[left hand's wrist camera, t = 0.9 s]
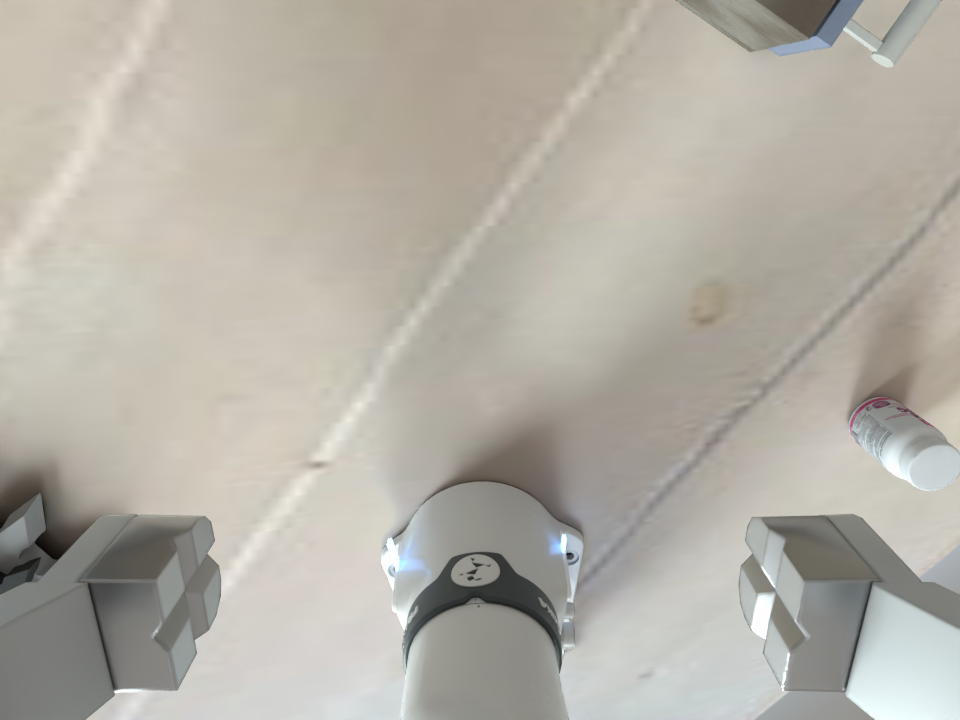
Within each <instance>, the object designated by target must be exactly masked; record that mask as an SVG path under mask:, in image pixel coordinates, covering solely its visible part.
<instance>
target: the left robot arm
mask: <svg viewBox="0 0 960 720" xmlns="http://www.w3.org/2000/svg"><path fill="white" fill-rule="evenodd" d="M214 541H215V538H214V533H213V529H212V524H211V521H210V520H209V519H208V518H207V517H206V516H181V515H136V514H122V515H105V516H101V517H99V518H98V519H97V520H96V521H95V522H94V523H93V524H92V525H91V526H90V527H89V528H88V529H87V530H86V531H85V532H84V533H83V535H82V536H81V537H80V538H79V539H78V540H77V541H76V542H75V543H74V544H73V545H72V546H71V547H70V548H69V549H68V550H67V551H66V552H65V554H64V555H63V556H62V557H61V558H60V559H59V560H58V561H57V562H56V563H55V564H54V565H53V566H52V567H51V568H50V569H49V570H48V572H47V573H46V574H45V575H44V576H43V577H42V578H41V579H40V580H39V581H38V582H26V583H24V584H22V585H20V586H17V587H15V588H13V589H11V590H9V591H7V592H5V593H3V594H1V595H0V720H85V719H87V718H88V717H89V716H90V715H92V714H93V713H94V712H95V711H96V710H98V709H99V708H100V707H101V706H103V705H104V704H105V703H106V702H107V701H109V700H110V699H111V698H112V697H114V695H115V693H114V692H138V691H173V690H178V688H179V686H180V684H181V683H182V681H183V679H184V677H185V675H186V673H187V671H188V669H189V667H190V665H191V664H192V662H193V660H194V658H195V656H196V654H197V651H196V645H195V639H197V638H198V637H200V636H201V635H203V634H204V633H205V632H207V631H208V630H209V629H210V627H211V625H212V623H213V621H214V619H215V617H216V614H217V610H218V606H219V601H220V597H221V576H220V569H219V565H218V564H217V563H216V562H215V561H214V560H213V559H212V558H211V557H210V556H209V555H208V554H207V553H208V551H209V550H210V548H211V546H212V545H213V543H214ZM745 541H746V543H747V545H748V546H749V548H750V550H751V551H752V553H753V554H752V555H751V556H750V557H749V558H748V559H747V560H746V561H745V562H744V563H743V564H742V565H741V570H740V578H739V594H740V604H741V607H742V610H743V614H744V617H745V619H746V621H747V623H748V625H749V627H750V629H751V630H752V631H753V632H755V633H756V634H757V635H759V636H760V637H762V638H763V639H765V645H764V651H763V654H764V656H765V658H766V660H767V662H768V664H769V665H770V667H771V669H772V671H773V673H774V675H775V677H776V679H777V681H778V682H779V684H780V686H781V688H782V690H785V691H821V692H846V693H845V695H846V696H847V697H848V698H849V699H851V700H852V701H853V702H854V703H855V704H857V705H858V706H859V707H860V708H861V709H863V710H864V711H865V712H866V713H868V714H869V715H870V716H871V717H872V718H874V719H875V720H960V595H959V594H957V593H955V592H953V591H951V590H949V589H947V588H945V587H943V586H940V585H938V584H936V583H934V582H922V581H921V580H920V579H919V578H918V577H917V576H916V575H915V574H914V573H913V571H912V570H911V569H910V568H909V567H908V566H907V565H906V564H905V563H904V562H903V561H902V560H901V559H900V558H899V557H898V556H897V555H896V553H895V552H894V551H893V550H892V549H891V548H890V547H889V546H888V545H887V544H886V543H885V542H884V541H883V540H882V539H881V538H880V537H879V535H878V534H877V533H876V532H875V531H874V530H873V529H872V528H871V527H870V526H869V525H868V524H867V523H866V522H865V521H864V520H863V518H861V517H859V516H856V515H854V514H839V515H819V516H778V517H752V518H751V520H750V522H749V524H748V527H747V532H746V538H745ZM583 550H584V540H583V536H582V534H581V533H580V532H578V531H577V530H576V529H574V528H572V527H570V526H568V525H566V524H564V523H561V522H559V521H557V520H556V519H555V518H554V517H553V516H552V515H551V514H550V513H549V512H548V511H547V510H546V509H545V508H544V506H543V505H542V504H541V503H540V502H538V501H537V500H536V499H535V498H533V497H532V496H531V495H529V494H527V493H526V492H524V491H522V490H520V489H517V488H515V487H512V486H509V485H506V484H502V483H496V482H486V481H479V482H468V483H463V484H459V485H455V486H452V487H450V488H447V489H445V490H443V491H441V492H439V493H437V494H436V495H434V496H433V497H431V498H430V499H429V500H427V501H426V502H425V503H424V504H423V505H422V506H421V507H420V508H419V509H418V511H417V512H416V513H415V515H414V516H413V518H412V520H411V521H410V523H409V525H408V526H407V528H406V529H405V531H404V532H403V533H402V534H400V535H399V536H397V537H396V538H394V539H393V540H392V538H388V542H387V545H386V546H385V547H384V548H383V549H382V553H381V562H382V565H383V567H384V570H385V572H386V575H387V577H388V579H389V582H390V584H391V587H392V589H393V598H392V609H393V611H394V612H396V613H397V614H398V618H399V620H400V623H401V625H402V627H403V629H404V635H403V645H402V648H403V667H404V670H405V674H406V677H405V684H404V692H403V699H402V707H401V714H400V720H569V717H568V713H567V709H566V705H565V700H564V696H563V691H562V686H561V681H560V675H559V674H560V669H561V665H562V659H563V656H564V651H565V650H571V649H573V648H574V643H575V629H574V624H573V623H571V622H570V619H573V618H574V598H575V593H576V587H577V582H578V577H579V571H580V566H581V560H582V555H583ZM568 552H571V553H572V554H571V555H566V553H568Z"/></svg>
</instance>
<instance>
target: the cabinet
mask: <svg viewBox="0 0 960 720" xmlns="http://www.w3.org/2000/svg"><path fill="white" fill-rule="evenodd" d="M676 1H678V2H679V3H680V4H682V5H683V6H685V7H686V8H688V9H689V10H691V11H692V12H693V13H695V14H696V15H698V16H699V17H701V18H702V19H703V20H705V21H706V22H708V23H709V24H711V25H712V26H714V27H715V28H716V29H718V30H719V31H721V32H722V33H724V34H725V35H726V36H728V37H729V38H731V39H732V40H734V41H735V42H736V43H738V44H739V45H741V46H742V47H744V48H745V49H747V50H748V51H749V52H753V51H758V50H762V49H767V48H772V47H776V46H781V45H786V44H790V43H795V42H800V41H804V40H809V39H810V38H811V37H812V35H813V34H814V32H815V31H816V29H817V28H818V26H819V25H820V24H821V22H822V21H823V19H824V18H825V16H826V15H827V13H828V12H829V10H830V9H831V7H832V6H833V5H834V3H835V2H836V0H676Z"/></svg>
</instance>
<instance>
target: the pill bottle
mask: <svg viewBox="0 0 960 720" xmlns="http://www.w3.org/2000/svg"><path fill="white" fill-rule="evenodd" d="M849 432H850V434H851V436H852V438H853V439H854V440H855V441H856V442H857V443H858V444H859V445H860V446H861V447H862V448H864V449H865V450H866V451H867V452H868V453H869V454H870V455H871V456H873V457H874V458H875V459H876V460H877V461H878V462H879V463H881V464H882V465H883V466H884V467H885V468H886V469H887V470H889V471H890V472H891V473H892V474H894V475H895V476H897V477H899V478H901V479H905V480H908V481H909V482H910V483H911V484H913V485H914V486H915V487H917V488H919V489H921V490H926V491H933V490H939V489H942V488H944V487H946V486H948V485H949V484H951V483H952V482H953V481H954V480H955V479H956V478H957V477H958V475H959V474H960V453H959V451H958V450H957V449H956V448H955V447H953V446H952V445H951V444H950V443H948V442H947V440H946V438H945V436H944V435H943V434H942V433H941V432H940V431H939V430H938V429H937V428H935V427H934V426H932V425H931V424H929V423H928V422H926V421H925V420H924V419H922V418H921V417H919V416H918V415H916V414H915V413H913V412H912V411H910V410H909V409H908V408H906V407H905V406H903V405H902V404H900V403H899V402H897V401H896V400H894V399H891V398H888V397H875V398H871V399H868V400H866V401H864V402H863V403H861V404H860V405H859V406H858V407H857V408H856V409H855V410H854V412H853V413H852V415H851V417H850V420H849Z"/></svg>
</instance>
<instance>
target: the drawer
mask: <svg viewBox="0 0 960 720" xmlns="http://www.w3.org/2000/svg"><path fill="white" fill-rule="evenodd" d="M941 1H942V0H911V1H910V2H909V3H908V5H907V6H906V8H905V9H904V10H903V12H902V13H901V15H900V16H899V17H898V19H897V20H896V22H895V23H894V24H893V26H892V27H891V28H890V30H889V31H888V33H887V34H886V35H885V37H884V38H883V40H882V41H881V40H879V39H878V38H877V37H875V36H874V35H873V34H871V33H870V32H868V31H867V30H866V29H864V28H863V27H862V26H860V25H859V24H858V23H856V22H855V21H853V20H852V19H851V17H852V16H853V15H854V13H855V12H856V10H857V9H858V7H859V6H860V5H861V3H862V2H863V0H836V2H835V3H834V5H833V6H832V7H831V9H830V10H829V12H828V13H827V15H826V16H825V18H824V19H823V21H822V22H821V24H820V25H819V26H818V28H817V29H816V31H815V32H814V34H813V35H812V37H811V38H810V39H809V40H804V41H800V42H795V43H790V44H786V45H781V46H776V47H772V48H768V49H770V50H771V51H773V52H774V53H776V54H777V55H778V56H784V55H789V54H795V53H800V52H806V51H812V50H817V49H823V48H828V47H831V46H832V45H833V43H834V42H835V40H836V39H837V38H838V36H839V35H840V33H841V32H842V30H844V31H845V32H846V33H848V34H849V35H850V36H852V37H853V38H855V39H856V40H857V41H859V42H860V43H861V44H863V45H864V46H866V47H867V48H868V49H870V50H871V51H874V52H873V54H872V56H871V57H872V59H873V60H874V61H876V62H877V63H879V64H880V65H883V66H885V67H893V66H894V65H895V64H896V63H897V61H898V60H899V58H900V57H901V56H902V54H903V53H904V52H905V50H906V49H907V47H908V46H909V45H910V43H911V42H912V41H913V39H914V38H915V37H916V35H917V34H918V32H919V31H920V30H921V28H922V27H923V26H924V24H925V23H926V22H927V20H928V19H929V17H930V16H931V15H932V13H933V12H934V11H935V9H936V8H937V6H938V5H939V4H940V2H941Z"/></svg>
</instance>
